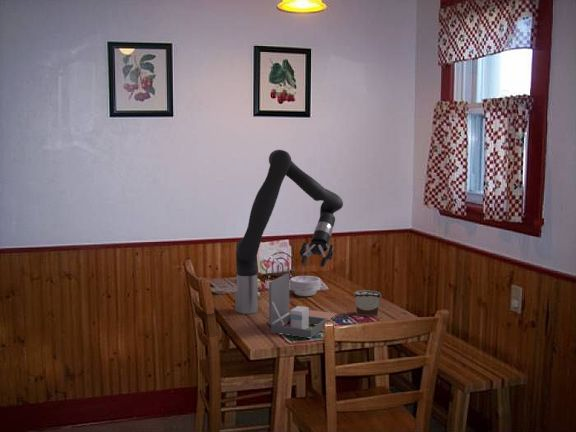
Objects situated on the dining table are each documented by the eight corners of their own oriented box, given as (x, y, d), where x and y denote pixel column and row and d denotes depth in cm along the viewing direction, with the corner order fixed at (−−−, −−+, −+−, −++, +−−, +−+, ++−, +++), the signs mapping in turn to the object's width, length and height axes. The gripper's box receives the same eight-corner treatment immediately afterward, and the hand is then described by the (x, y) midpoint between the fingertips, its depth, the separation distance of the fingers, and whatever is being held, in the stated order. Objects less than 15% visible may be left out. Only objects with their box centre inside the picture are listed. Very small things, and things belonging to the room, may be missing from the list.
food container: (380, 311, 295) (381, 290, 294) (381, 315, 289) (381, 293, 288) (353, 310, 296) (353, 289, 295) (353, 314, 290) (353, 293, 289)
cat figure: (265, 302, 316) (264, 284, 340) (265, 284, 314) (264, 268, 338) (244, 302, 315) (245, 285, 339) (244, 285, 313) (245, 269, 337)
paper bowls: (302, 288, 335) (302, 273, 334) (326, 293, 326) (326, 278, 324) (283, 294, 324) (283, 279, 322) (307, 300, 314) (308, 284, 313)
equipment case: (269, 332, 266) (269, 282, 263) (287, 320, 282) (287, 273, 278) (311, 339, 258) (311, 287, 255) (327, 326, 274) (327, 277, 271)
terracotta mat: (295, 320, 282) (295, 319, 282) (310, 310, 296) (310, 310, 296) (323, 324, 276) (323, 323, 276) (337, 314, 291) (337, 313, 291)
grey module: (290, 331, 267) (290, 310, 266) (297, 326, 274) (297, 305, 273) (301, 333, 265) (301, 312, 264) (308, 328, 272) (308, 307, 270)
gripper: (305, 228, 287) (294, 259, 278) (335, 230, 281) (325, 262, 272) (309, 238, 292) (299, 268, 284) (339, 240, 286) (330, 271, 278)
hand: (312, 265), depth 278 cm, fingers open, 8 cm apart
